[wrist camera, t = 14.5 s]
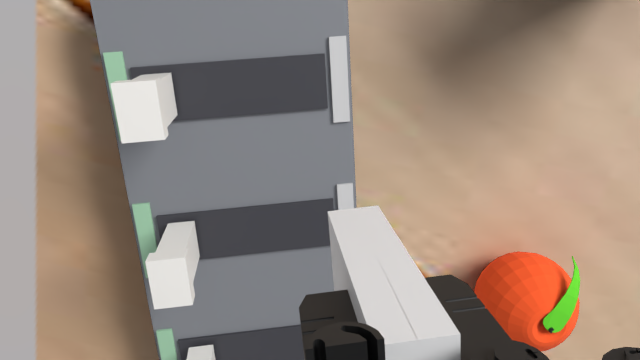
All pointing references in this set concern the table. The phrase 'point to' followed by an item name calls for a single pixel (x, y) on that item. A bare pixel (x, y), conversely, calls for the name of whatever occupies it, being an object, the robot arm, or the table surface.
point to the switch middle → (174, 266)
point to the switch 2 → (201, 353)
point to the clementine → (530, 298)
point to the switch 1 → (144, 107)
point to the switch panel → (238, 159)
